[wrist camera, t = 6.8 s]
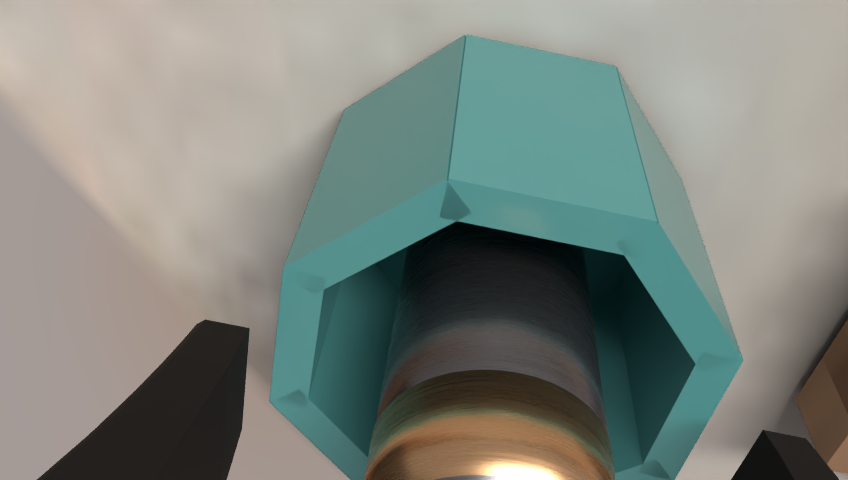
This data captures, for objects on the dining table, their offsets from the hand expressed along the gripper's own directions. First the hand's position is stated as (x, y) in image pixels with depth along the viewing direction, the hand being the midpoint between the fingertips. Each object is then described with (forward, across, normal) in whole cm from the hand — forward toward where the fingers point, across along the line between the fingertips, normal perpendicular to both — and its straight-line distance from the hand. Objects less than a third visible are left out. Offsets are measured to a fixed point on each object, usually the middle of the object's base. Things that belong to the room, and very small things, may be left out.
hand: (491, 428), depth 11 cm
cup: (+6, 0, 0) cm, 6 cm away
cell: (+5, 0, 0) cm, 5 cm away
